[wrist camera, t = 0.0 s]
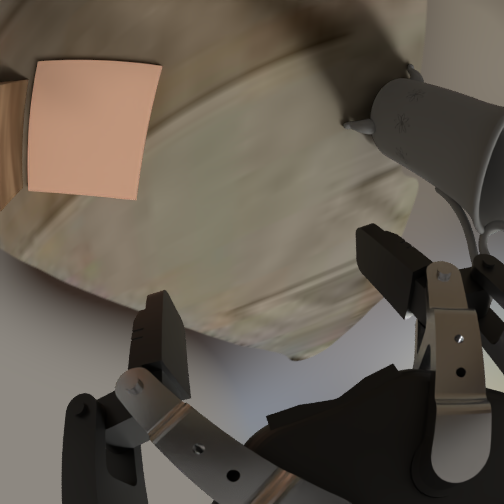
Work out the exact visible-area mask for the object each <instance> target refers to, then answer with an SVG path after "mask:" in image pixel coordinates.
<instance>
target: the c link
mask: <svg viewBox="0 0 504 504" xmlns="http://www.w3.org/2000/svg"><path fill="white" fill-rule="evenodd" d="M28 80H29V79H27V80H16V81H6V82H0V211H2V210H3V209H4V207H5V206H6V205H7V204H8V203H9V202H10V201H11V199H12V198H13V197H14V196H15V195H16V194H17V193H18V192H19V191H20V190H21V189H22V188H23V181H22V139H23V122H24V110H25V101H26V93H27V86H28Z"/></svg>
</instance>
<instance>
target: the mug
mask: <svg viewBox="0 0 504 504" xmlns="http://www.w3.org/2000/svg"><path fill="white" fill-rule="evenodd" d="M408 72H409V74H410V79H406V78H399V79H395V80H392V81H390V82H388V83H387V84H386V85H385V86H384V87H383V88H382V89H381V90H380V91H379V93H378V94H377V96H376V98H375V100H374V103H373V106H372V110H371V117H370V119H365V120H360V121H353V122H346V123H344V125H343V126H344V128H345V129H353V130H355V131H358V132H360V133H364V134H372V137H373V139H374V142H375V144H376V146H377V147H378V149H379V150H380V151H381V152H382V153H383V154H384V155H385V156H387V157H389V158H390V159H392V160H394V161H396V162H397V163H399V164H401V165H402V166H404V167H406V168H407V169H409V170H411V171H412V172H414V173H416V174H417V175H418V176H420V177H422V178H423V179H425V180H426V181H428V182H429V183H431V184H432V185H434V186H435V190H436V192H437V193H439V194H440V195H441V196H442V197H443V198H444V199H445V200H446V201H447V202H448V203H449V204H450V206H451V207H452V208H453V210H454V211H455V213H456V215H457V216H458V218H459V220H460V223H461V225H462V227H463V230H464V233H465V236H466V240H467V244H468V249H469V254H470V258H471V262H472V263H473V259H474V257H475V256H477V255H478V251H477V247H476V242H475V238H474V234H473V231H472V228H471V225H470V223H469V220H468V218H467V216H466V214H465V212H464V210H466V212H467V213H468V214H469V215H470V217H471V219H472V221H473V224H474V227H475V229H476V230H477V232H479V233H480V237H479V252H480V254H488V255H490V253H489V251H488V249H487V240H488V237H489V235H492V234H494V233H496V232H497V231H499V230H501V231H504V107H502V106H497V105H494V104H490V103H487V102H484V101H481V100H478V99H475V98H473V97H470V96H467V95H464V94H461V93H458V92H455V91H452V90H449V89H445V88H442V87H438V86H435V85H431V84H427V83H424V80H423V78H422V76H421V74H420V73H419V72H418V71H416V70H415V69H414V66H413V65H412V64H409V65H408ZM462 208H463V209H464V210H463V209H462Z"/></svg>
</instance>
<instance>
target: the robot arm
mask: <svg viewBox="0 0 504 504" xmlns="http://www.w3.org/2000/svg"><path fill="white" fill-rule="evenodd" d="M356 259H357V264H358V267H359V270H360V271H361V273H362V274H363V275H364V276H365V277H366V278H367V279H368V280H369V281H370V282H371V283H372V285H373V286H374V287H375V288H376V289H377V290H378V291H379V292H380V293H381V294H382V295H383V297H384V298H385V299H386V300H387V301H388V302H389V303H390V304H391V305H392V307H393V308H394V309H395V310H396V311H397V312H398V313H399V314H400V316H401V317H402V318H403V319H404V320H406V319H408V318H410V317H412V316H413V315H414V316H415V317H416V318H417V319H416V324H415V328H416V329H415V354H414V364H413V369H406V370H400V371H398V370H397V369H396V367H395V366H394V364H391V365H389V366H387V367H386V368H383V369H381V370H379V371H377V372H375V373H373V374H371V375H369V376H367V377H365V378H364V379H363V380H361V381H360V382H359V383H358V384H356V385H355V386H354V387H352V388H351V389H350V390H349V391H347V392H346V393H344V394H343V395H342V396H340V397H339V398H337V399H334V400H328V401H322V402H316V403H309V404H302V405H298V406H295V407H292V408H289V409H286V410H283V411H280V412H277V413H274V414H271V415H268V416H266V418H267V421H268V425H267V426H265V427H263V428H262V429H260V430H259V431H258V432H256V433H255V434H254V435H253V436H252V437H251V438H249V440H248V441H247V442H246V443H245V444H244V445H243V444H241V443H240V442H238V441H237V440H235V439H234V438H232V437H231V436H230V435H228V434H227V433H225V432H224V431H222V430H221V429H220V428H218V427H217V426H216V425H215V424H213V423H212V422H211V421H209V420H208V419H207V418H205V417H204V416H203V415H202V414H200V413H199V412H198V411H197V410H195V409H194V408H193V407H192V406H190V405H189V404H187V403H184V402H182V400H185V399H190V398H191V394H190V385H189V374H188V364H187V352H186V339H185V329H184V325H183V322H182V320H181V317H180V315H179V314H178V312H177V310H176V308H175V306H174V304H173V302H172V300H171V298H170V296H169V294H168V293H167V291H166V290H163V291H160V292H157V293H153V294H150V295H148V296H147V301H146V309H144V310H141V311H139V313H138V315H137V316H136V318H135V320H134V323H133V330H132V331H133V333H132V338H131V339H132V341H131V346H130V355H129V365H128V371H126V372H124V373H123V374H122V375H121V376H120V378H119V379H118V381H117V383H116V386H115V391H113V392H112V393H109V394H108V395H106V396H104V397H102V398H100V399H98V400H96V399H95V398H94V397H93V396H92V395H90V394H87V393H83V394H79V395H77V396H76V397H74V398H73V399H72V400H71V402H70V403H69V405H68V407H67V410H66V417H65V427H64V436H63V452H62V504H148V499H147V493H146V487H145V480H144V472H143V464H142V455H141V444H143V443H145V442H147V441H149V440H151V441H152V443H153V444H154V445H155V446H156V447H157V448H158V449H159V450H160V451H161V452H162V453H163V454H164V455H165V456H166V457H167V458H168V459H169V460H170V461H171V462H172V463H173V464H174V465H175V466H176V467H177V468H178V469H179V470H180V471H181V472H182V473H183V474H184V475H186V476H187V477H188V478H189V479H190V480H191V481H192V482H193V483H195V484H196V485H197V486H198V487H199V488H200V489H201V490H203V491H204V492H205V493H206V494H207V495H209V496H210V497H211V498H212V499H214V501H213V502H212V504H504V393H503V392H500V391H496V390H492V389H488V388H486V386H485V371H484V360H483V351H482V347H483V348H484V350H485V351H486V352H487V353H488V354H489V356H490V357H491V358H492V360H493V361H494V362H495V364H496V365H497V366H498V367H499V369H500V370H501V372H502V373H503V374H504V322H503V321H502V320H501V319H500V318H499V317H498V316H497V315H496V313H495V312H493V310H492V309H491V308H490V304H491V302H492V299H494V300H495V301H496V302H497V303H499V305H500V306H501V307H502V308H503V309H504V264H503V263H502V262H500V261H499V260H498V259H496V258H495V257H493V256H491V255H488V254H479V255H477V256H475V257H474V259H473V263H472V267H469V268H464V269H458V268H457V267H456V266H454V265H453V264H451V263H448V262H444V261H438V262H432V261H431V260H429V259H428V258H427V257H426V256H424V255H423V254H422V253H421V252H419V251H418V250H417V249H416V248H414V247H412V246H411V245H410V244H409V243H407V242H405V240H404V239H402V238H401V237H400V236H398V235H397V234H394V233H391V232H389V231H384V230H382V229H381V228H380V227H378V226H377V225H376V224H374V223H372V224H369V225H366V226H363V227H360V228H357V230H356Z"/></svg>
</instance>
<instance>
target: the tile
mask: <svg viewBox="0 0 504 504" xmlns="http://www.w3.org/2000/svg"><path fill="white" fill-rule="evenodd" d="M162 67H163V66H159V65H151V64H143V63H133V62H121V61H104V60H53V61H38V64H37V69H36V74H35V80H34V86H33V93H32V101H31V109H30V120H29V134H28V191H39V192H53V193H66V194H78V195H89V196H99V197H110V198H119V199H129V200H136V199H137V192H138V184H139V177H140V170H141V164H142V158H143V152H144V146H145V141H146V135H147V130H148V125H149V120H150V116H151V111H152V107H153V102H154V98H155V94H156V90H157V86H158V82H159V78H160V75H161V71H162Z"/></svg>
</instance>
